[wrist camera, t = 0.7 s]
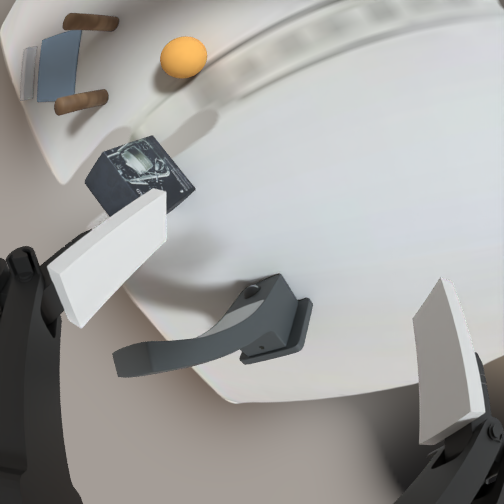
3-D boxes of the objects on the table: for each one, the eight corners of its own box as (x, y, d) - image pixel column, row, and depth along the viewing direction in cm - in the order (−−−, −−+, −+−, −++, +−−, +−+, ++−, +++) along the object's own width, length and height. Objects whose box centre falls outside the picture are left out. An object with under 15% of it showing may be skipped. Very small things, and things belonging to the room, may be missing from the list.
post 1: (108, 18, 26) (64, 15, 19) (120, 15, 26) (75, 11, 18) (105, 32, 27) (61, 31, 20) (117, 30, 27) (72, 28, 20)
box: (198, 187, 38) (155, 220, 29) (171, 211, 41) (129, 245, 33) (153, 132, 35) (101, 150, 27) (130, 160, 39) (82, 184, 30)
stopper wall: (33, 47, 30) (23, 49, 28) (37, 46, 30) (27, 47, 28) (29, 98, 37) (20, 100, 35) (32, 97, 37) (23, 100, 35)
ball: (180, 39, 27) (155, 34, 22) (218, 40, 26) (196, 33, 22) (173, 76, 30) (147, 77, 26) (210, 80, 29) (188, 80, 25)
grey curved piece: (246, 213, 38) (140, 353, 18) (315, 303, 42) (276, 453, 23) (196, 247, 44) (97, 365, 24) (262, 322, 48) (208, 448, 28)
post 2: (98, 89, 33) (54, 97, 26) (109, 89, 33) (64, 97, 26) (97, 104, 35) (54, 115, 28) (107, 104, 34) (63, 115, 27)
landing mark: (43, 40, 29) (42, 40, 29) (82, 27, 27) (81, 27, 27) (37, 101, 37) (37, 102, 37) (74, 100, 35) (73, 100, 35)
